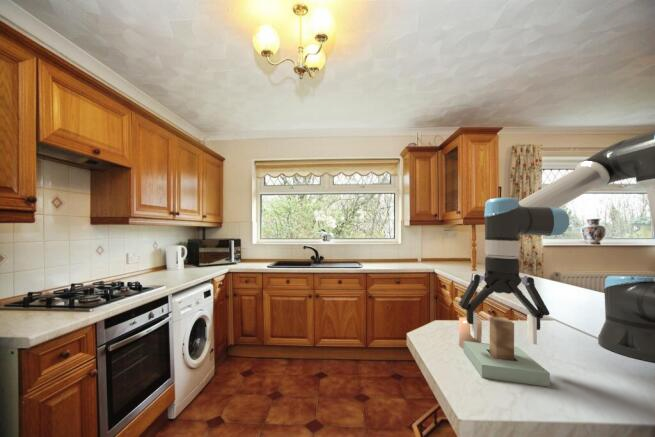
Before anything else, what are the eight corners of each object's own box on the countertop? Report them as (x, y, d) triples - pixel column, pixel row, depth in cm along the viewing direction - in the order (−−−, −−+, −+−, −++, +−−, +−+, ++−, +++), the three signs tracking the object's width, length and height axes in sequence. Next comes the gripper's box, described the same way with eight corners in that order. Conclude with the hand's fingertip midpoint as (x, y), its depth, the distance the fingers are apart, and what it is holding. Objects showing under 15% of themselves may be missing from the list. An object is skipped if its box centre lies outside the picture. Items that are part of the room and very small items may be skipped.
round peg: (477, 344, 81) (477, 318, 82) (484, 352, 75) (485, 324, 76) (456, 341, 82) (456, 316, 83) (462, 350, 76) (462, 322, 77)
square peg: (506, 364, 69) (506, 318, 69) (514, 372, 65) (514, 323, 66) (489, 362, 70) (489, 316, 70) (496, 370, 66) (496, 321, 66)
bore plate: (517, 358, 73) (517, 346, 73) (549, 386, 59) (549, 373, 59) (463, 351, 75) (463, 341, 76) (481, 377, 62) (481, 364, 62)
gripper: (547, 257, 70) (548, 338, 69) (447, 253, 75) (447, 329, 74) (566, 260, 63) (568, 351, 61) (454, 255, 68) (454, 339, 66)
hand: (502, 339), depth 68 cm, fingers open, 13 cm apart
